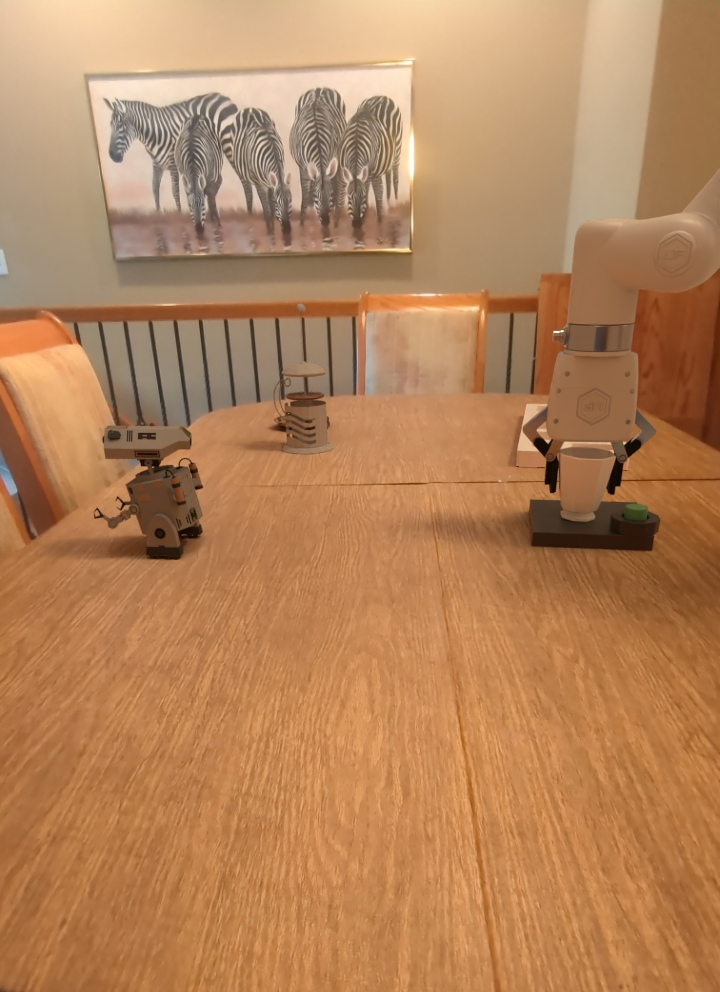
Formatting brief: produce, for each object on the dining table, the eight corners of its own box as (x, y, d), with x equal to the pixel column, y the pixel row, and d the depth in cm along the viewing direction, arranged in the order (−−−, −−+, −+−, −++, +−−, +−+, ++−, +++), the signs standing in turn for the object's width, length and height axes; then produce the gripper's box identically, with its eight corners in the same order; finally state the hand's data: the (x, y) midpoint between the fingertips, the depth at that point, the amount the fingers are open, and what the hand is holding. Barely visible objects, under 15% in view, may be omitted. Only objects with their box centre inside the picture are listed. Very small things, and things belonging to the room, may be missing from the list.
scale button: (644, 516, 92) (646, 503, 91) (648, 522, 89) (650, 510, 89) (622, 515, 92) (624, 503, 91) (625, 522, 90) (627, 509, 89)
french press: (314, 456, 137) (306, 305, 126) (263, 449, 142) (252, 305, 131) (343, 445, 144) (339, 302, 133) (294, 439, 150) (286, 301, 139)
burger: (272, 423, 165) (269, 387, 162) (325, 420, 167) (324, 385, 164) (276, 434, 155) (274, 396, 151) (333, 431, 156) (332, 393, 153)
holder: (525, 416, 166) (526, 403, 165) (611, 418, 162) (612, 405, 161) (515, 466, 127) (517, 450, 126) (628, 470, 123) (630, 454, 122)
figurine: (130, 533, 100) (110, 417, 93) (214, 535, 98) (200, 417, 92) (101, 558, 92) (77, 433, 85) (192, 560, 90) (175, 433, 84)
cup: (542, 519, 95) (550, 455, 91) (563, 499, 102) (572, 439, 99) (599, 528, 92) (609, 462, 88) (616, 507, 99) (627, 445, 96)
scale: (640, 515, 102) (644, 490, 100) (658, 552, 89) (663, 524, 88) (528, 512, 104) (530, 487, 103) (531, 547, 92) (534, 520, 90)
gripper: (522, 343, 86) (511, 497, 94) (683, 343, 83) (657, 501, 91) (521, 337, 92) (511, 481, 100) (670, 336, 90) (647, 485, 98)
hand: (581, 489), depth 96 cm, fingers closed on cup, 6 cm apart
